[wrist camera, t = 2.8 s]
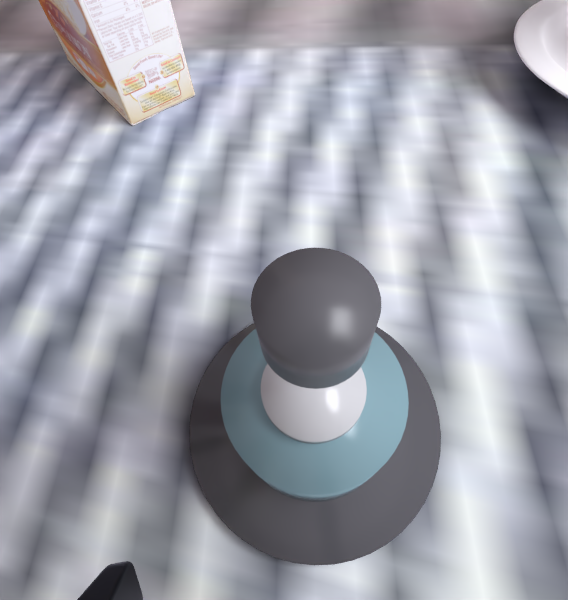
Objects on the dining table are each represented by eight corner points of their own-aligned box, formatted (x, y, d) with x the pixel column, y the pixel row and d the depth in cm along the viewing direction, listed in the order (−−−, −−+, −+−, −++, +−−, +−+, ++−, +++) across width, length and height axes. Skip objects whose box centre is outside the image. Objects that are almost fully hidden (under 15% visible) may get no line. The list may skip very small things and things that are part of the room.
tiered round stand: (488, 420, 21) (541, 386, 16) (315, 640, 17) (318, 684, 12) (310, 277, 26) (310, 218, 21) (145, 417, 22) (99, 385, 17)
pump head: (386, 349, 13) (408, 298, 10) (315, 422, 12) (317, 388, 9) (313, 288, 14) (314, 228, 12) (242, 349, 13) (224, 300, 11)
